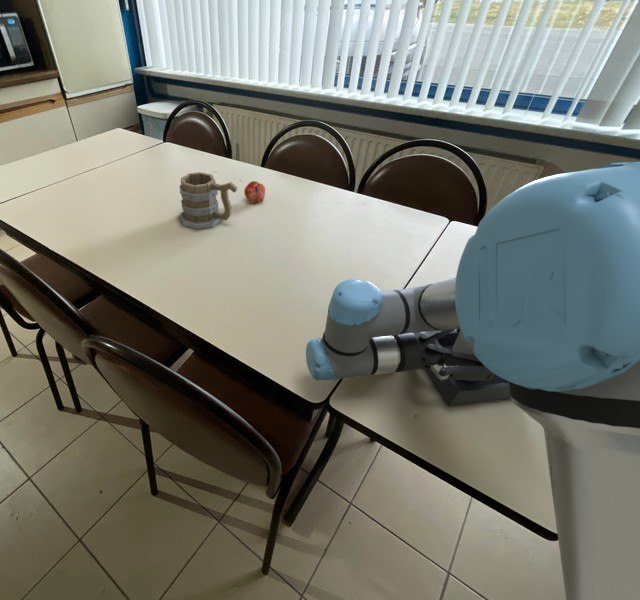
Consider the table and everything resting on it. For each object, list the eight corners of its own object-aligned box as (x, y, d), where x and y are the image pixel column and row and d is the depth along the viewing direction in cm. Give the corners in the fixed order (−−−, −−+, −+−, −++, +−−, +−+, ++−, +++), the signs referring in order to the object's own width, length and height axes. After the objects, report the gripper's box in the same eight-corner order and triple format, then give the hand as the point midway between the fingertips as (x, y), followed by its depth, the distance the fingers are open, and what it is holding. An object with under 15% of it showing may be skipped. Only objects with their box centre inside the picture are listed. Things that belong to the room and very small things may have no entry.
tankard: (174, 222, 120) (168, 178, 110) (196, 207, 129) (192, 164, 119) (226, 238, 113) (224, 193, 103) (245, 221, 121) (246, 177, 111)
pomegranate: (242, 203, 135) (243, 198, 125) (245, 183, 135) (246, 176, 125) (262, 206, 135) (264, 201, 125) (265, 186, 135) (267, 179, 125)
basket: (519, 397, 70) (532, 383, 67) (448, 406, 69) (458, 392, 66) (473, 341, 81) (482, 327, 78) (411, 348, 80) (418, 333, 77)
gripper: (364, 326, 77) (464, 316, 80) (411, 412, 62) (533, 397, 64) (373, 300, 72) (479, 290, 75) (426, 386, 57) (558, 370, 59)
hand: (504, 339), depth 70 cm, fingers closed on coffee cup, 8 cm apart
